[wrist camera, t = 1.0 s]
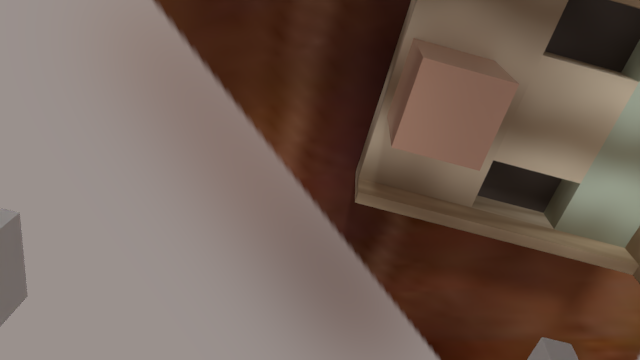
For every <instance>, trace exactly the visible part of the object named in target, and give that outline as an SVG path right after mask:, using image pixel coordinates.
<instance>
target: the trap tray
mask: <svg viewBox="0 0 640 360" xmlns="http://www.w3.org/2000/svg"><path fill="white" fill-rule="evenodd" d="M413 38H415V39H419V40H423V41H426V42H430V43H433V44H437V45H441V46H444V47H448V48H451V49H455V50H459V51H462V52H466V53H469V54H473V55H477V56H480V57H484V58H487V59H491V60H495V61H496V62H497V63H498V64H499V65H500V66H501V67H502V68H503V69H504V70H505V71H506V72H507V73H508V74H509V75H510V76H511V77H513V78H514V79H515V80H516V81H517V82H518V83H519V86H518V88H517V90H516V93H515V95H514V97H513V99H512V101H511V104H510V106H509V108H508V110H507V112H506V114H505V117H504V119H503V121H502V123H501V125H500V127H499V130H498V132H497V134H496V136H495V138H494V141H493V143H492V145H491V147H490V149H489V151H488V154H487V156H486V158H485V160H484V162H483V164H482V167H481V169H480V171H478V170H474V169H471V168H467V167H463V166H459V165H456V164H452V163H448V162H444V161H441V160H437V159H433V158H429V157H426V156H422V155H418V154H414V153H411V152H407V151H403V150H399V149H396V148H392V147H391V140H390V133H389V126H388V119H387V115H388V112H389V109H390V106H391V103H392V100H393V97H394V94H395V91H396V88H397V85H398V83H399V80H400V77H401V74H402V71H403V68H404V65H405V62H406V59H407V56H408V53H409V50H410V47H411V44H412V41H413ZM355 203H359V204H363V205H367V206H370V207H374V208H378V209H382V210H386V211H390V212H393V213H397V214H401V215H405V216H409V217H413V218H417V219H420V220H424V221H428V222H432V223H436V224H440V225H443V226H447V227H451V228H455V229H459V230H463V231H466V232H470V233H474V234H478V235H482V236H486V237H489V238H493V239H497V240H501V241H505V242H509V243H513V244H516V245H520V246H524V247H528V248H532V249H536V250H539V251H543V252H547V253H551V254H555V255H559V256H562V257H566V258H570V259H574V260H578V261H582V262H585V263H589V264H593V265H597V266H601V267H605V268H609V269H612V270H616V271H620V272H624V273H628V274H632V275H633V276H634V277H635V278H636V279H637V281H638V282H639V283H640V0H411V2H410V6H409V9H408V12H407V15H406V18H405V21H404V24H403V27H402V30H401V33H400V36H399V40H398V43H397V46H396V49H395V52H394V55H393V58H392V61H391V64H390V67H389V70H388V73H387V77H386V80H385V83H384V86H383V89H382V92H381V95H380V98H379V101H378V104H377V107H376V111H375V114H374V117H373V120H372V123H371V126H370V129H369V132H368V135H367V138H366V141H365V144H364V148H363V151H362V154H361V157H360V160H359V163H358V166H357V169H356V177H355Z"/></svg>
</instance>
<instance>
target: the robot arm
mask: <svg viewBox="0 0 640 360" xmlns="http://www.w3.org/2000/svg"><path fill="white" fill-rule="evenodd" d="M26 297H27V286H26V277H25V265H24V255H23V245H22V233H21V222H20V213H19V212H15V211H11V210H7V209H3V208H0V326H1V325H2V324H3V323H4V322H5V320H7V318H8V317H9V316H10V315H11V314H12V313H13V312H14V311H15V309H16V308H17V307H18V306H19V305H20V304H21V303H22V302H23V301H24V300H25V298H26ZM527 360H578V358H577V355H576V353H575V351H574V349H573V347H572V345H571V344H568V343H564V342H560V341H556V340H552V339H547V338H543V337H542V338H541V339H540V341H539V342H538V344H537V345H536V347H535V348H534V350H533V351H532V353H531V355H530V356H529V358H528V359H527Z"/></svg>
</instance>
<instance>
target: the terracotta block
mask: <svg viewBox="0 0 640 360" xmlns="http://www.w3.org/2000/svg"><path fill="white" fill-rule="evenodd" d="M518 86H519V83H518V82H517V81H516V80H515V79H514V78H513V77H511V76H510V75H509V74H508V73H507V72H506V71H505V70H504V69H503V68H502V67H501V66H500V65H499V64H498V63H497V62H496V61H495V60H491V59H487V58H484V57H480V56H477V55H473V54H469V53H466V52H462V51H459V50H455V49H451V48H448V47H444V46H441V45H437V44H433V43H430V42H426V41H423V40H419V39H415V38H413V41H412V44H411V47H410V50H409V53H408V56H407V59H406V62H405V65H404V68H403V71H402V74H401V77H400V80H399V83H398V85H397V88H396V91H395V94H394V97H393V100H392V103H391V106H390V109H389V112H388V115H387V119H388V126H389V133H390V140H391V147H392V148H396V149H399V150H403V151H407V152H411V153H414V154H418V155H422V156H426V157H429V158H433V159H437V160H441V161H444V162H448V163H452V164H456V165H459V166H463V167H467V168H471V169H474V170H478V171H480V169H481V167H482V164H483V162H484V160H485V158H486V156H487V154H488V151H489V149H490V147H491V145H492V143H493V141H494V138H495V136H496V134H497V132H498V130H499V127H500V125H501V123H502V121H503V119H504V117H505V114H506V112H507V110H508V108H509V106H510V104H511V101H512V99H513V97H514V95H515V93H516V90H517V88H518Z"/></svg>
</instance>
